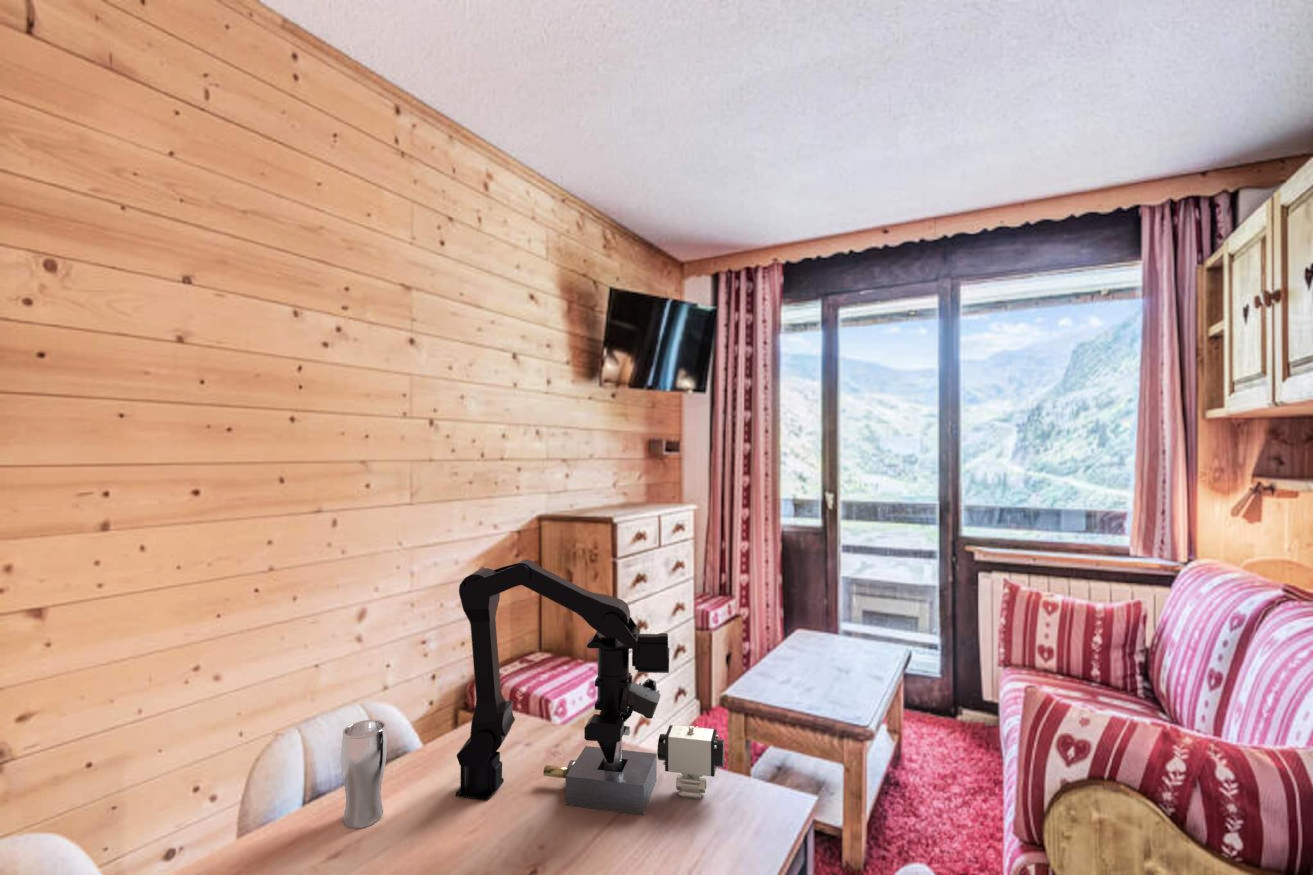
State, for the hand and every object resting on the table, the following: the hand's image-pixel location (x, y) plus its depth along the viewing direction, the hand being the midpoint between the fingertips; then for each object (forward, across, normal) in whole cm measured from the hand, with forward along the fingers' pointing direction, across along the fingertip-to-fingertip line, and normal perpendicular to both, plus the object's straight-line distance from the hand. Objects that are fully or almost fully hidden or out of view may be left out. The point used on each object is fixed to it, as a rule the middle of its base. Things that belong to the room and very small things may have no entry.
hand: (612, 757), depth 109 cm
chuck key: (+4, 0, 0) cm, 4 cm away
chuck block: (+6, 0, +3) cm, 7 cm away
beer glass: (+6, -13, +40) cm, 43 cm away
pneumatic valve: (+6, +2, -14) cm, 16 cm away
